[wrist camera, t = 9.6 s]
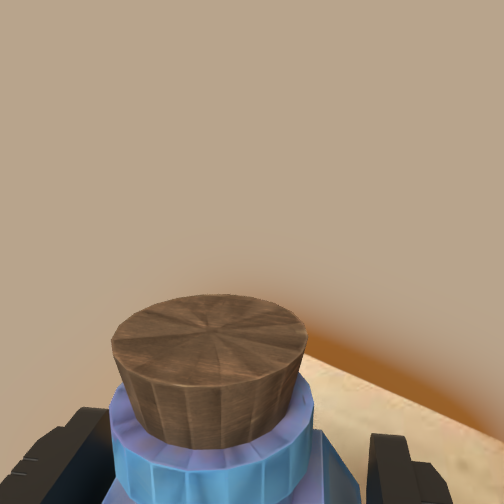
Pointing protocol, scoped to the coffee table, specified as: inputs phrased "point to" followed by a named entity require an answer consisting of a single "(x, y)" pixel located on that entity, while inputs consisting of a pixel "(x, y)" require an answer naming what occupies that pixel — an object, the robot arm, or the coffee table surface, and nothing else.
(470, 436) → the coffee table surface
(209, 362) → the perfume bottle
